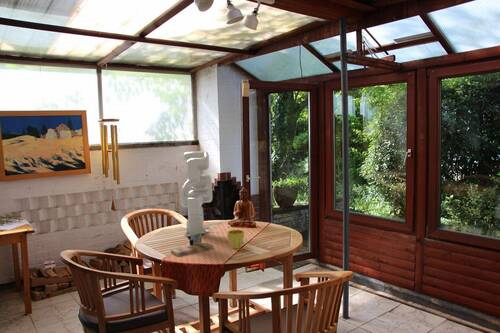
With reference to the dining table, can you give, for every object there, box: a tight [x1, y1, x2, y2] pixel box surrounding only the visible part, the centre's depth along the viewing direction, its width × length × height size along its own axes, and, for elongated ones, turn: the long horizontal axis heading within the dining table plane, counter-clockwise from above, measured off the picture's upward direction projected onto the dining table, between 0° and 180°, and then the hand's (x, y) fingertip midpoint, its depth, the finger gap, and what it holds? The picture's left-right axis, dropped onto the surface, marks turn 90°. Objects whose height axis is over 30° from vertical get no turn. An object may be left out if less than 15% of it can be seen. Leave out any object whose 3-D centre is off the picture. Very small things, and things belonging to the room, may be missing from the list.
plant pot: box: [227, 229, 245, 249], centre depth 254 cm, size 10×10×10 cm
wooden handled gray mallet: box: [192, 235, 206, 246], centre depth 255 cm, size 5×13×7 cm, turn 37°
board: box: [170, 242, 214, 257], centre depth 250 cm, size 24×9×2 cm, turn 126°
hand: (195, 244), depth 259 cm, fingers closed on wooden handled gray mallet, 5 cm apart
